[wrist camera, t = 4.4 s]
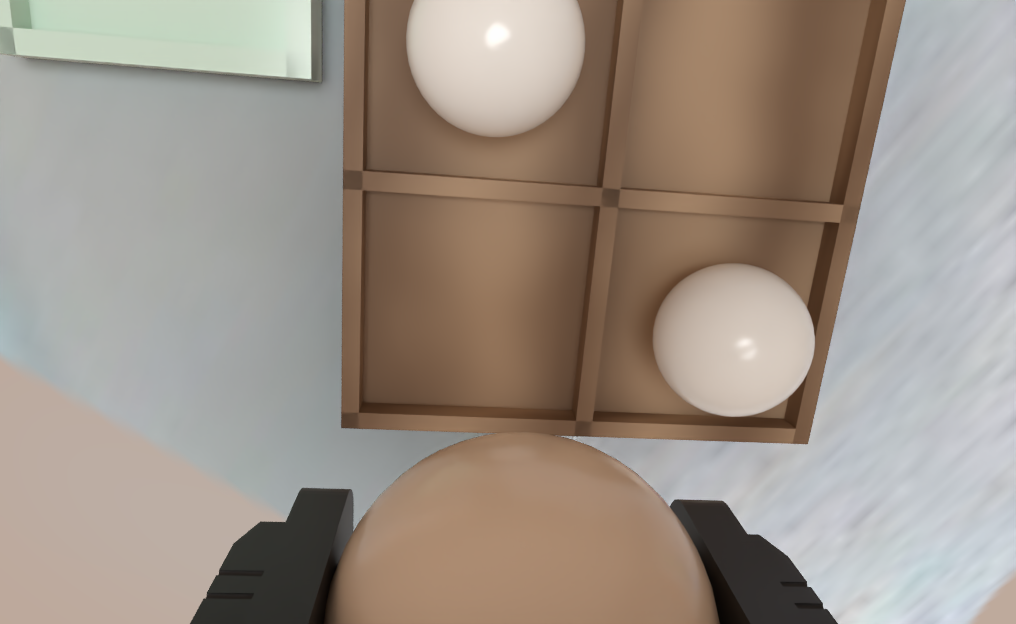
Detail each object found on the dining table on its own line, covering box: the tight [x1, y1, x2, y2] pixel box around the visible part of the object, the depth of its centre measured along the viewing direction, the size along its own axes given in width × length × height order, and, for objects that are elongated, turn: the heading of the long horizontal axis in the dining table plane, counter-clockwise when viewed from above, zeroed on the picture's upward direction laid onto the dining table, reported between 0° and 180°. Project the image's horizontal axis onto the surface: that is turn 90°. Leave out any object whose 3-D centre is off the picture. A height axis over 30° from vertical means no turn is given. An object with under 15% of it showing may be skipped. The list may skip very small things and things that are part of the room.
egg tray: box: [341, 0, 906, 444], centre depth 23 cm, size 17×17×4 cm
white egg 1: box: [406, 0, 585, 137], centre depth 18 cm, size 5×5×5 cm
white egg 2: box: [653, 263, 815, 417], centre depth 21 cm, size 5×5×5 cm
